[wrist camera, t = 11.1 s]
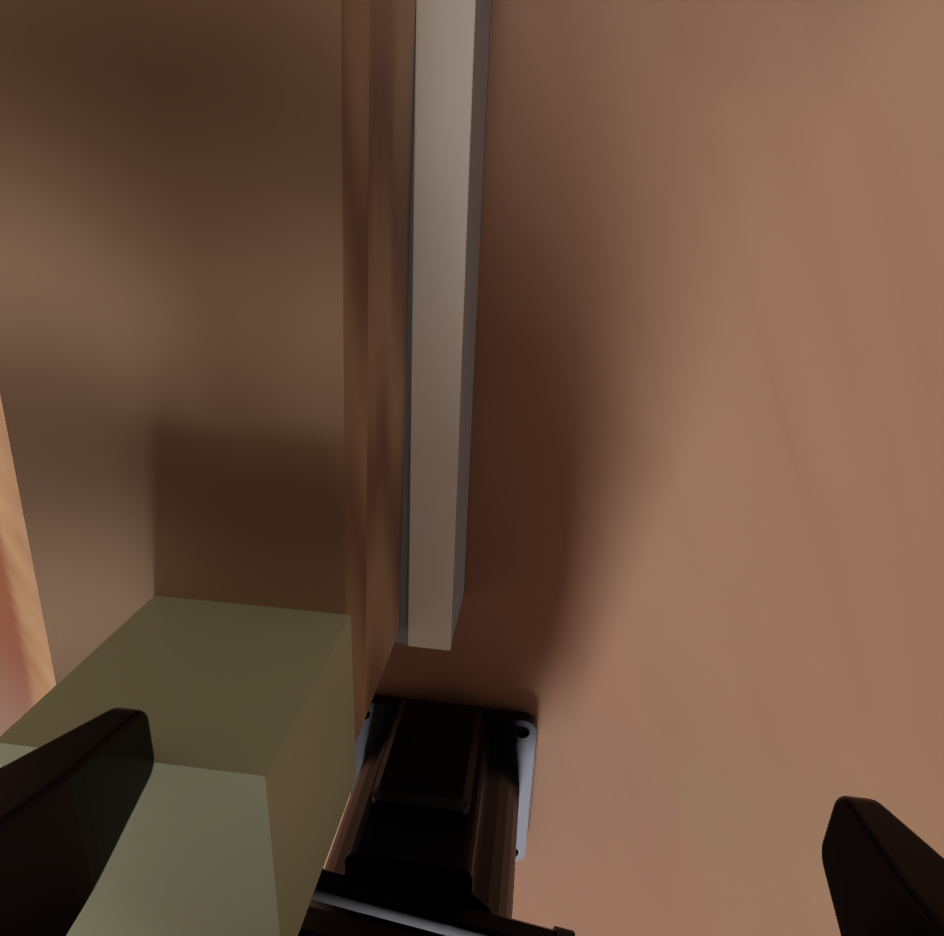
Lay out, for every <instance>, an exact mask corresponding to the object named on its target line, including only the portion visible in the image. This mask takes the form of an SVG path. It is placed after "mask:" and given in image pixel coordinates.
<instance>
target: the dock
mask: <svg viewBox="0 0 944 936" xmlns="http://www.w3.org/2000/svg"><path fill="white" fill-rule="evenodd" d="M490 16H491V0H416V12H415V50H414V88H413V125H412V163H411V201H410V239H409V276H408V314H407V352H406V390H405V427H404V465H403V503H402V541H401V578H400V616H399V633H398V635H397V638H396V640H395V643H404V644H408V646H412V647H421V648H430V649H439V650H449V651H450V649H451V645H452V640H453V636H454V632H455V628H456V624H457V620H458V616H459V612H460V608H461V604H462V600H463V596H464V582H465V560H466V538H467V516H468V495H469V473H470V451H471V429H472V408H473V386H474V364H475V342H476V321H477V299H478V277H479V255H480V234H481V212H482V190H483V168H484V146H485V125H486V103H487V81H488V59H489V38H490Z"/></svg>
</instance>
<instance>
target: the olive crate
mask: <svg viewBox="0 0 944 936" xmlns="http://www.w3.org/2000/svg"><path fill="white" fill-rule="evenodd" d="M113 708H129V709H137V710H142V711H144V712H145V713H146V714H147V716H148V719H149V725H150V732H151V738H152V745H153V751H154V766H153V770H152V773H151V776H150V778H149V780H148V782H147V784H146V786H145V788H144V790H143V792H142V794H141V796H140V798H139V800H138V803H137V805H136V807H135V809H134V811H133V813H132V815H131V817H130V819H129V821H128V823H127V825H126V827H125V829H124V831H123V833H122V835H121V837H120V839H119V841H118V843H117V845H116V847H115V849H114V851H113V853H112V855H111V857H110V859H109V861H108V863H107V865H106V867H105V869H104V871H103V873H102V875H101V877H100V879H99V881H98V882H97V884H96V886H95V888H94V890H93V892H92V893H91V895H90V897H89V899H88V900H87V902H86V904H85V905H84V907H83V909H82V910H81V912H80V914H79V915H78V917H77V919H76V920H75V922H74V923H73V925H72V927H71V928H70V930H69V932H68V933H67V935H66V936H298V934H299V931H300V929H301V926H302V923H303V920H304V918H305V915H306V912H307V909H308V907H309V904H310V901H311V899H312V896H313V893H314V890H315V888H316V885H317V882H318V879H319V877H320V874H321V871H322V868H323V866H324V863H325V860H326V858H327V855H328V852H329V849H330V847H331V844H332V841H333V838H334V836H335V833H336V830H337V827H338V825H339V822H340V819H341V817H342V814H343V811H344V808H345V806H346V803H347V800H348V797H349V795H350V792H351V789H352V786H353V784H354V781H355V778H356V757H355V727H354V697H353V667H352V636H351V615H345V614H335V613H325V612H315V611H305V610H295V609H285V608H275V607H265V606H255V605H245V604H235V603H225V602H215V601H205V600H195V599H185V598H175V597H165V596H155V595H154V596H153V597H152V598H151V599H150V600H149V601H148V602H147V603H145V604H144V605H143V606H142V607H141V608H140V609H139V610H138V611H137V612H136V613H135V614H133V615H132V616H131V617H130V618H129V619H128V620H127V621H126V622H125V623H124V624H123V625H122V626H120V627H119V628H118V629H117V630H116V631H115V632H114V633H113V634H112V635H111V636H110V637H108V638H107V639H106V640H105V641H104V642H103V643H102V644H101V645H100V646H99V647H98V648H96V649H95V650H94V651H93V652H92V653H91V654H90V655H89V656H88V657H87V658H86V659H84V660H83V661H82V662H81V663H80V664H79V665H78V666H77V667H76V668H75V669H74V670H72V671H71V672H70V673H69V674H68V675H67V676H66V677H65V678H64V679H63V680H62V681H60V682H59V683H58V684H57V685H56V686H55V687H54V688H53V689H52V690H51V691H50V692H48V693H47V694H46V695H45V696H44V697H43V698H42V699H41V700H40V701H39V702H38V703H36V704H35V705H34V706H33V707H32V708H31V709H30V710H29V711H28V712H27V713H26V714H24V715H23V716H22V717H21V718H20V719H19V720H18V721H17V722H16V723H15V724H14V725H12V726H11V727H10V728H9V729H8V730H7V731H6V732H5V733H4V734H3V735H2V736H0V765H1V767H3V766H5V765H7V764H9V763H10V762H12V761H14V760H16V759H18V758H20V757H22V756H24V755H25V754H27V753H29V752H31V751H33V750H35V749H37V748H39V747H40V746H42V745H44V744H46V743H48V742H50V741H52V740H54V739H56V738H57V737H59V736H61V735H63V734H65V733H67V732H69V731H71V730H72V729H74V728H76V727H78V726H80V725H82V724H84V723H86V722H87V721H89V720H91V719H93V718H95V717H97V716H99V715H101V714H103V713H104V712H106V711H108V710H110V709H113Z"/></svg>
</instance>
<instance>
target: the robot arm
mask: <svg viewBox="0 0 944 936" xmlns="http://www.w3.org/2000/svg"><path fill="white" fill-rule="evenodd" d="M518 726H524V727H527V728H528V729H526V730H521V729H518V728H517V727H518ZM536 737H537V721H536V720H535V718H534V717H533V716H532V715H530V714H529V713H525V712H519V711H510V710H501V709H493V708H484V707H475V706H467V705H458V704H449V703H441V702H432V701H423V700H415V699H406V698H397V697H389V696H380V695H374V697H373V699H372V702H371V704H370V707H369V711H368V712H367V715H366V717H365V720H364V722H363V725H362V727H361V730H360V733H359V735H358V738H357V740H356V743H355V757H356V778H355V781H354V784H353V786H352V789H351V797H350V800H349V802H348V805H347V808H346V811H345V813H344V816H343V819H342V822H341V825H340V827H339V830H338V833H337V836H336V839H335V841H334V844H333V847H332V850H331V853H330V855H329V858H328V861H327V864H326V867H325V869H322V871H321V874H320V877H319V879H318V882H317V885H316V888H315V890H314V893H313V896H312V899H311V901H310V904H309V907H308V909H307V912H306V915H305V918H304V920H303V923H302V926H301V929H300V931H299V934H298V936H575V933H574V931H572V930H568V929H564V928H560V927H557V926H554V928H553V929H549V928H545V927H541V926H538V925H534V924H530V923H526V922H523V921H519V920H515V919H512V908H513V892H514V875H515V862H518V861H521V860H522V859H523V858H524V856H525V850H526V840H527V829H528V819H529V809H530V799H531V788H532V778H533V768H534V758H535V747H536ZM153 766H154V751H153V745H152V738H151V732H150V725H149V719H148V716H147V714H146V713H145V712H144V711H142V710H137V709H129V708H113V709H110V710H108V711H106V712H104V713H103V714H101V715H99V716H97V717H95V718H93V719H91V720H89V721H87V722H86V723H84V724H82V725H80V726H78V727H76V728H74V729H72V730H71V731H69V732H67V733H65V734H63V735H61V736H59V737H57V738H56V739H54V740H52V741H50V742H48V743H46V744H44V745H42V746H40V747H39V748H37V749H35V750H33V751H31V752H29V753H27V754H25V755H24V756H22V757H20V758H18V759H16V760H14V761H12V762H10V763H9V764H7V765H5V766H3V767H1V768H0V936H66V935H67V933H68V932H69V930H70V928H71V927H72V925H73V923H74V922H75V920H76V919H77V917H78V915H79V914H80V912H81V910H82V909H83V907H84V905H85V904H86V902H87V900H88V899H89V897H90V895H91V893H92V892H93V890H94V888H95V886H96V884H97V882H98V881H99V879H100V877H101V875H102V873H103V871H104V869H105V867H106V865H107V863H108V861H109V859H110V857H111V855H112V853H113V851H114V849H115V847H116V845H117V843H118V841H119V839H120V837H121V835H122V833H123V831H124V829H125V827H126V825H127V823H128V821H129V819H130V817H131V815H132V813H133V811H134V809H135V807H136V805H137V803H138V800H139V798H140V796H141V794H142V792H143V790H144V788H145V786H146V784H147V782H148V780H149V778H150V776H151V773H152V770H153ZM822 861H823V866H824V870H825V874H826V878H827V882H828V886H829V890H830V894H831V898H832V902H833V906H834V910H835V913H836V917H837V921H838V925H839V929H840V933H841V936H944V858H943V857H942V856H940V855H939V854H938V853H937V852H936V851H935V850H933V849H932V848H931V847H930V846H929V845H928V844H927V843H925V842H924V841H923V840H922V839H921V838H920V837H918V836H917V835H916V834H915V833H914V832H913V831H912V830H910V829H909V828H908V827H907V826H906V825H905V824H903V823H902V822H901V821H900V820H899V819H898V818H896V817H895V816H894V815H893V814H892V813H891V812H890V811H888V810H887V809H886V808H885V807H884V806H883V805H881V804H880V803H879V802H877V801H875V800H872V799H867V798H859V797H851V796H842V797H839V798H838V799H837V800H836V802H835V804H834V807H833V811H832V814H831V817H830V820H829V824H828V827H827V830H826V833H825V837H824V840H823V844H822Z"/></svg>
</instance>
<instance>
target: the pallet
mask: <svg viewBox="0 0 944 936" xmlns="http://www.w3.org/2000/svg"><path fill="white" fill-rule="evenodd" d="M415 12H416V0H0V394H1V399H2V405H3V410H4V415H5V420H6V425H7V431H8V436H9V441H10V446H11V451H12V456H13V462H14V467H15V472H16V477H17V482H18V488H19V493H20V498H21V503H22V508H23V513H24V519H25V524H26V529H27V534H28V539H29V545H30V550H31V555H32V560H33V565H34V570H35V576H36V581H37V586H38V591H39V596H40V602H41V607H42V612H43V617H44V622H45V627H46V633H47V638H48V643H49V648H50V653H51V659H52V664H53V669H54V674H55V679H56V684H58V683H59V682H60V681H62V680H63V679H64V678H65V677H66V676H67V675H68V674H69V673H70V672H71V671H72V670H74V669H75V668H76V667H77V666H78V665H79V664H80V663H81V662H82V661H83V660H84V659H86V658H87V657H88V656H89V655H90V654H91V653H92V652H93V651H94V650H95V649H96V648H98V647H99V646H100V645H101V644H102V643H103V642H104V641H105V640H106V639H107V638H108V637H110V636H111V635H112V634H113V633H114V632H115V631H116V630H117V629H118V628H119V627H120V626H122V625H123V624H124V623H125V622H126V621H127V620H128V619H129V618H130V617H131V616H132V615H133V614H135V613H136V612H137V611H138V610H139V609H140V608H141V607H142V606H143V605H144V604H145V603H147V602H148V601H149V600H150V599H151V598H152V597H153V596H154V595H155V596H165V597H175V598H185V599H195V600H205V601H215V602H225V603H235V604H245V605H255V606H265V607H275V608H285V609H295V610H305V611H315V612H325V613H335V614H345V615H351V636H352V667H353V697H354V727H355V743H356V740H357V738H358V735H359V733H360V730H361V727H362V725H363V722H364V720H365V717H366V715H367V712H368V710H369V707H370V704H371V702H372V699H373V697H374V694H375V692H376V689H377V687H378V684H379V681H380V679H381V676H382V674H383V671H384V669H385V666H386V663H387V661H388V658H389V656H390V653H391V651H392V648H393V646H394V643H395V640H396V638H397V635H398V633H399V616H400V578H401V541H402V503H403V465H404V427H405V390H406V352H407V314H408V276H409V239H410V201H411V163H412V125H413V88H414V50H415Z"/></svg>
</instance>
